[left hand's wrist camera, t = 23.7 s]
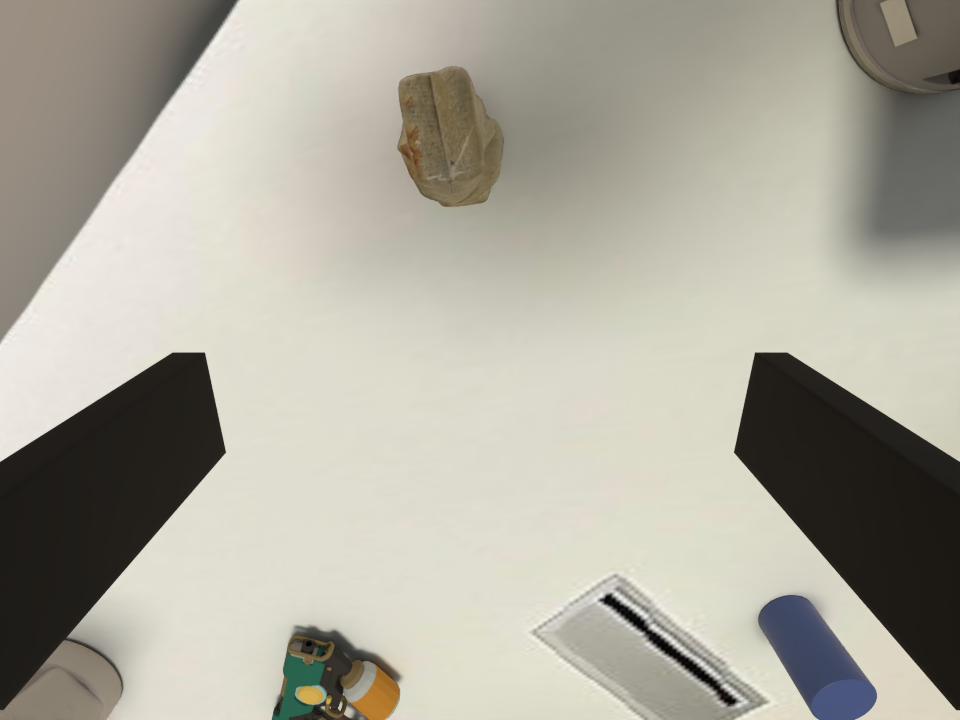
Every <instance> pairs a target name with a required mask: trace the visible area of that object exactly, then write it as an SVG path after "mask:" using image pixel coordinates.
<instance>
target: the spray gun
mask: <svg viewBox="0 0 960 720" xmlns="http://www.w3.org/2000/svg"><path fill="white" fill-rule="evenodd" d="M294 640H302V641H304V642H303V643H300V642H295V643H292V642H293V641H294ZM318 645H321V646H319V648H317V647H318ZM323 646H324V647H328V646H330V647H328V648H327V649H326V650H325V649H324V648H323ZM283 673H284V681H283V685H282V689H281V696H282V697H281V702H278V703H277V705H276V707H275V708H274V712H273V717H272V720H326V719H325V718H323V716H324V714H323V713H320V712H319V711H315V709H314V708H313V707H319V706H325V711H326V713H327V714H328V715H330V716H332V717H334V718H337V719H338V720H351V719H350V718H348V717H346V716H345V715H344V712H345V710H346V707H347V701H348V702H349V703H351V704H352V705H353V706H354V707H355V708H356V709H357V710H358V711H360V712H361V713H362V714H363V715H364V716H365V717H366V718H367V719H368V720H386V719H387V718H389V717H390V716H391V715H392V713H393V712H394V710H395V709H396V707H397V705H398V703H399V699H400V689H399V686H398V684H397V683H396V682H395V681H393V680H392V679H391V678H390V677H389V676H388V675H387V674H385V673H384V672H383V671H382V670H381V669H380V668H379V667H378V666H376V665H375V664H373V663H371V662H369V661H364V662H361V661H360V660H355V661H353V662H350V661H349V660H348V658H347V657H346V656H345V655H344V654H343V653H342V652H341V651H340V650H339V649H338V648H337V647H336V646H335V644H334V643H333V642H332V641H329V642H327V643H326V642H322V641H318V640H314V639H311V638H307V637H303V636H300V635H295V636H293V637H292V638H291V639H290V641H289V644H288V648H287V653H286V658H285V662H284V667H283ZM339 675H342V676H341V681H339V679H338V676H339ZM340 682H341V683H340ZM343 692H344V696H343V695H342V694H343ZM341 700H342V701H343V705H342V709H341V711H339V710H338V707H339V704H340V701H341ZM329 706H330V707H331V709H330V708H329Z"/></svg>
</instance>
